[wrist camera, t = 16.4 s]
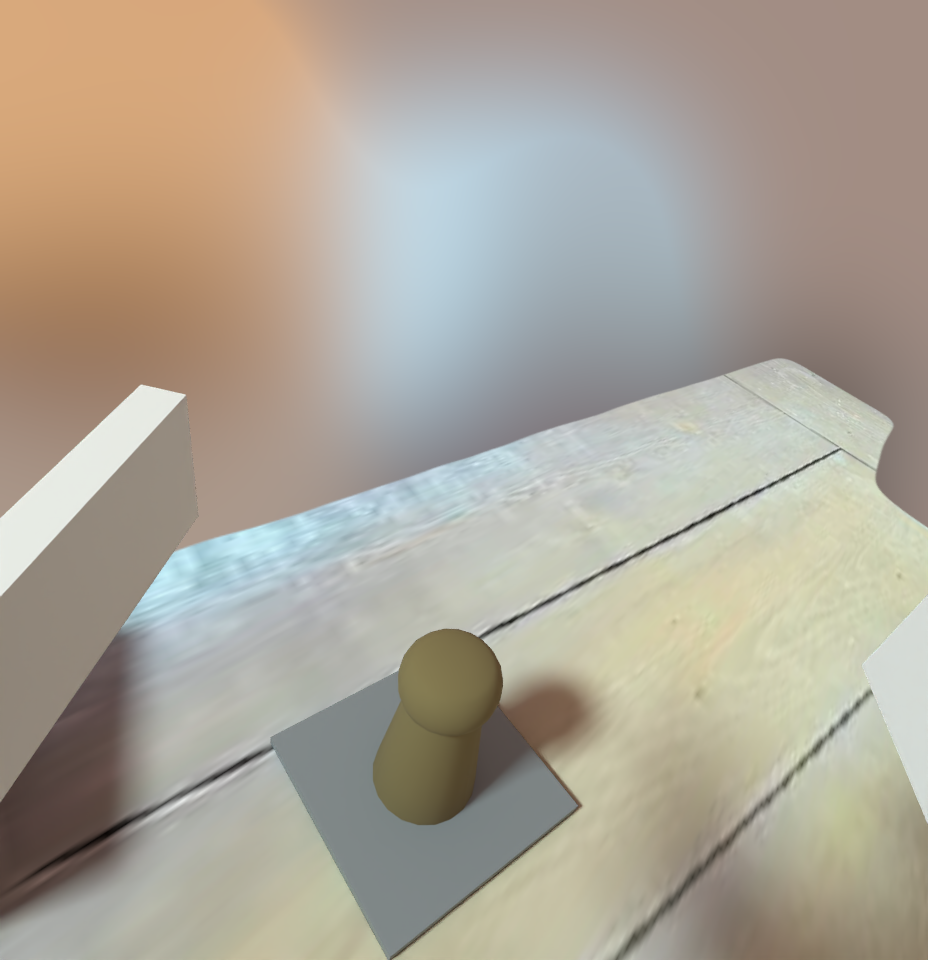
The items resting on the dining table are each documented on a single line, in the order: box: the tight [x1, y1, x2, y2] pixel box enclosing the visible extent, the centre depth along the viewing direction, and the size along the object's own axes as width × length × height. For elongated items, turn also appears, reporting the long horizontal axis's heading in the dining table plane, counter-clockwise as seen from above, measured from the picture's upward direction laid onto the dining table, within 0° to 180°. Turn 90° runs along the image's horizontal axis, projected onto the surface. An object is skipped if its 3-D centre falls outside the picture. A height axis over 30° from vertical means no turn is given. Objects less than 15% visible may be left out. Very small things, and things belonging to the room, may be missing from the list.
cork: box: [373, 629, 503, 825], centre depth 35 cm, size 6×6×11 cm
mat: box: [271, 671, 578, 960], centre depth 38 cm, size 13×13×1 cm
